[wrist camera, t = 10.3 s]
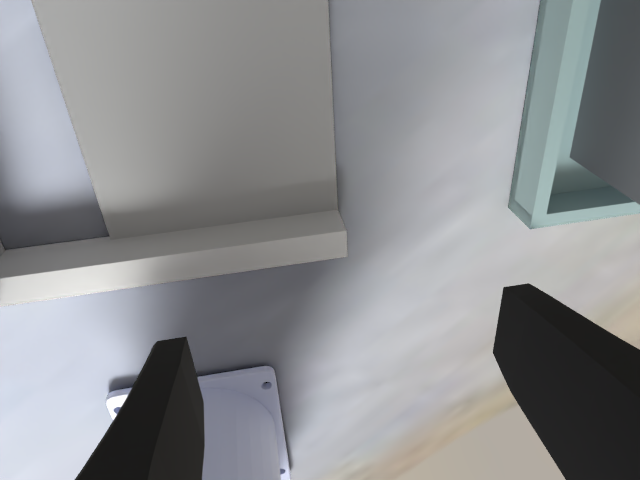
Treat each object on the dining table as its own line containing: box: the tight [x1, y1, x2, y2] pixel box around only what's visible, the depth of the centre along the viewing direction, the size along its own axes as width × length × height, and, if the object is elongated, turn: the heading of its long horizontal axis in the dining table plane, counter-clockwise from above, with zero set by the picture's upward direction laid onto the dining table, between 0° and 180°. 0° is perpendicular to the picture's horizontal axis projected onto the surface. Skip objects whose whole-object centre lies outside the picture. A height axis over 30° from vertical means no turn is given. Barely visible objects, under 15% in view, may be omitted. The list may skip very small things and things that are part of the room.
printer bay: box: [0, 0, 348, 307], centre depth 16 cm, size 12×15×4 cm
